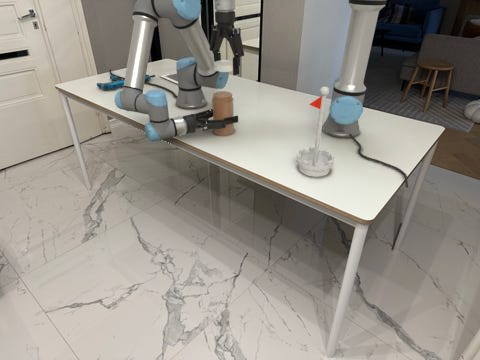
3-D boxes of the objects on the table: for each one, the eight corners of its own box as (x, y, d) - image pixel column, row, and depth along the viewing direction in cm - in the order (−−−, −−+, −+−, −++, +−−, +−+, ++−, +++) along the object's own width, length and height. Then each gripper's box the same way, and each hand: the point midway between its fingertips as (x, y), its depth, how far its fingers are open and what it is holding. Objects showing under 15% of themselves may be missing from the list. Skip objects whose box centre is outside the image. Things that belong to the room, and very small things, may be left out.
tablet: (159, 76, 219) (159, 75, 219) (186, 70, 230) (186, 70, 230) (187, 88, 199) (187, 87, 198) (214, 81, 210) (214, 80, 210)
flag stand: (319, 157, 130) (331, 78, 113) (339, 173, 119) (355, 90, 103) (289, 163, 126) (296, 83, 109) (307, 181, 115) (318, 95, 99)
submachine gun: (141, 68, 225) (159, 74, 208) (142, 74, 227) (160, 80, 210) (89, 78, 206) (104, 86, 190) (91, 84, 208) (106, 92, 192)
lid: (224, 64, 141) (224, 58, 140) (244, 67, 136) (244, 61, 135) (208, 69, 134) (208, 63, 133) (229, 73, 129) (229, 67, 128)
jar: (221, 137, 145) (220, 99, 135) (209, 130, 150) (207, 93, 141) (237, 131, 149) (237, 94, 140) (225, 125, 155) (224, 89, 146)
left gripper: (175, 124, 149) (221, 114, 158) (194, 144, 133) (244, 132, 142) (174, 108, 145) (221, 99, 154) (193, 126, 129) (244, 115, 138)
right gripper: (197, 9, 129) (201, 68, 141) (239, 14, 115) (240, 79, 127) (212, 7, 133) (215, 65, 145) (254, 12, 119) (253, 75, 132)
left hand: (232, 115), depth 148 cm, fingers closed on jar, 9 cm apart
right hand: (227, 72), depth 136 cm, fingers closed on lid, 10 cm apart
